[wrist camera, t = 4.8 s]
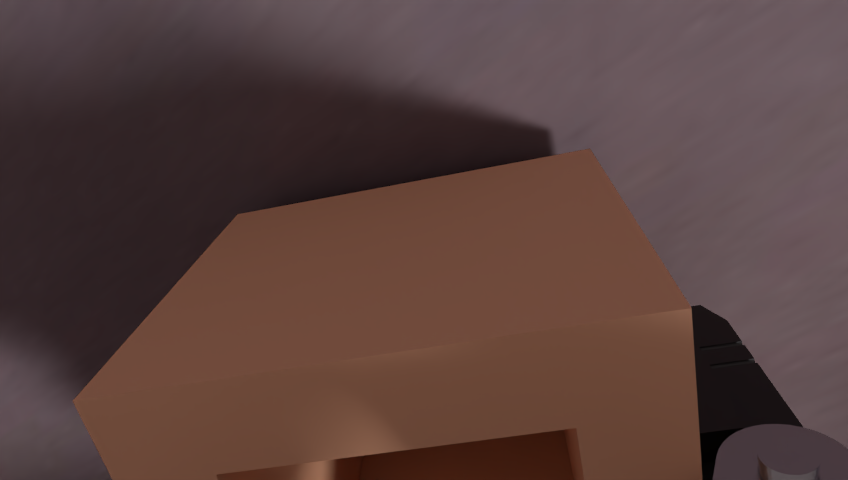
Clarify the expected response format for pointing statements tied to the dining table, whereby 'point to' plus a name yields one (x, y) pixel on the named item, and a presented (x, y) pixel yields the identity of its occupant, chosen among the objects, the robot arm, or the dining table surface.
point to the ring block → (414, 342)
